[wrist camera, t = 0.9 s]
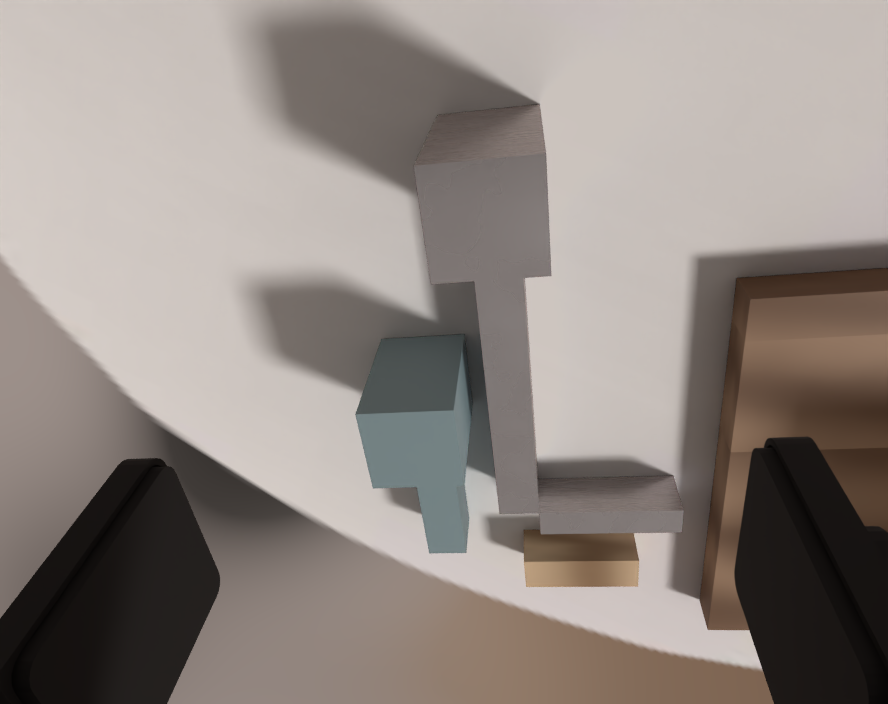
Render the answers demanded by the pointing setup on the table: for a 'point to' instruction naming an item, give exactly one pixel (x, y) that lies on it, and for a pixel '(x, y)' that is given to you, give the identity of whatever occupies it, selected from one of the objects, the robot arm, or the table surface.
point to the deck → (799, 402)
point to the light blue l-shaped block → (421, 429)
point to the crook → (516, 310)
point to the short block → (580, 559)
